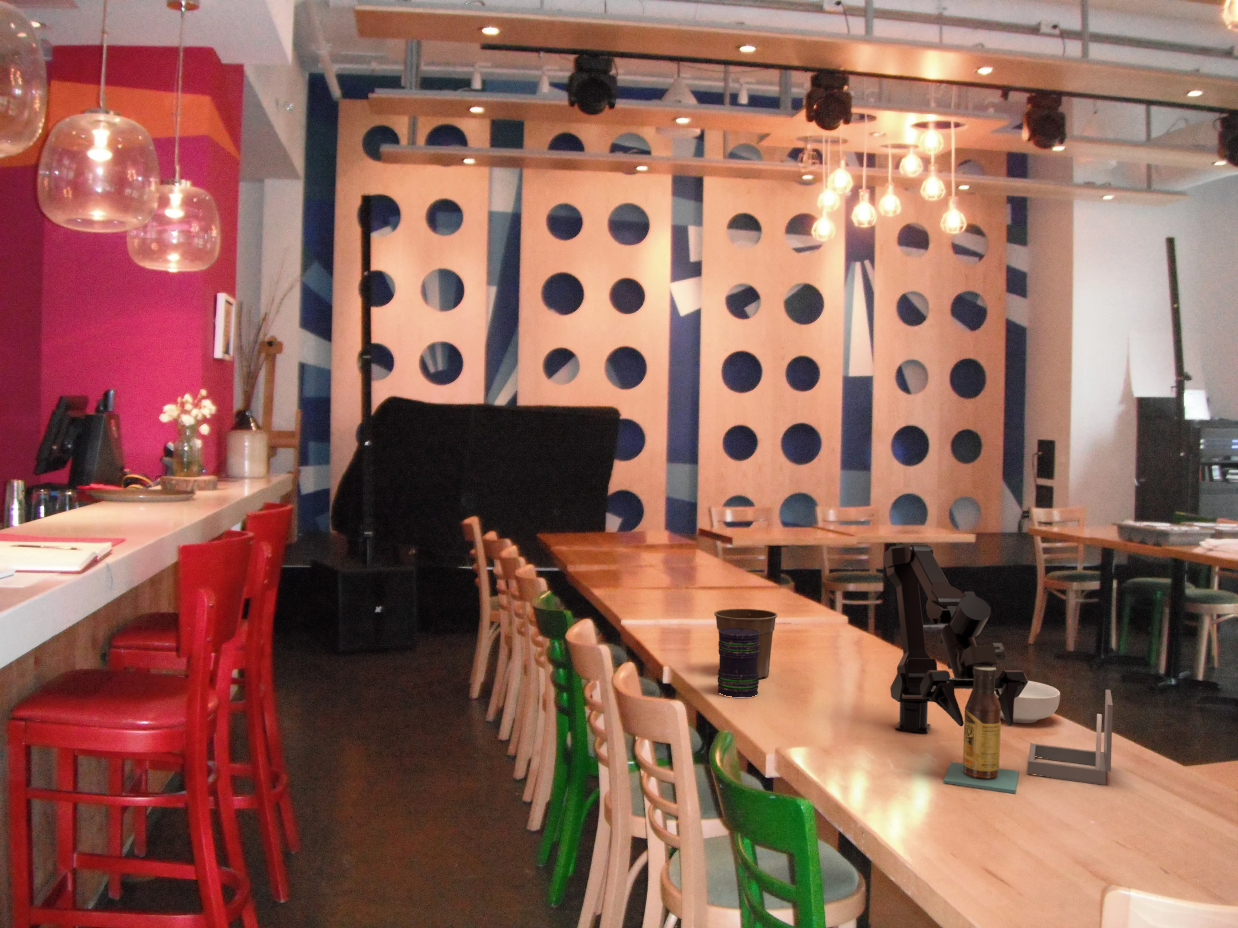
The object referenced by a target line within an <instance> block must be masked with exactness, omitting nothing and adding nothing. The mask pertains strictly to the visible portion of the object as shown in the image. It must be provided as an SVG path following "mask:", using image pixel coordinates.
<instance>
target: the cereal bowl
mask: <svg viewBox="0 0 1238 928" xmlns="http://www.w3.org/2000/svg"><path fill="white" fill-rule="evenodd" d="M994 693H995V695H996V692H994ZM996 697H997V698H998V697H999V696H998V695H996ZM1060 700H1061V692H1060V691H1059V689H1057V688H1056V687H1054V686H1051V685H1049V684H1045V683H1042V682H1037V681H1033V680H1028V683H1027V685H1026V686H1025V688H1024V689H1023V691H1022V692H1021V694H1020V695H1019V697H1016V698H1015V699H1014V715H1013V723H1017V724H1018V723H1019V724H1034V723H1036V722H1037V721H1038V720H1042V719H1047V718H1048V717H1051V716H1052V715H1053V714H1054V713H1055V712H1056V711H1057V709H1058V708H1059V705H1060ZM1001 719H1002V720H1003V721H1006V720H1005V718H1004V715H1003V713H1002V711H1001V715H1000V720H1001Z"/></svg>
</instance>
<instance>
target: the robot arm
mask: <svg viewBox="0 0 1238 928" xmlns="http://www.w3.org/2000/svg"><path fill="white" fill-rule="evenodd" d="M883 565H884V567H885V570H886V576H887V578H888V579H889V581H890V582H891V583H892V585H893V586H894V587H895V589H896V598H897V606H898V616H899V624H900V625H899V626H900V633H901V634H900V635H901V643H902V657H901V658H900V659H899V662H898V665H897V667H896V672H897V673H896V676H895V677H894V679H893V681H892V683H891V685H890V697H891V698H892V699H894V700H895V701H896V702H897V703H899V716H898V717H899V721H898V722H897V724H896V726H895V730H896V731H904V732H911V733H919V734H928V733H929V731H930V728H932V727H931V726H932V725H931V724H930V723H928V709H929V708H928V706H929V705H928V704H929V702H930V703H935V704H936V705H938V706H939V707H940V708H941V709H942V710H943V711H945V713H947V714H948V716H949V717H950V718H951V719H953V721H954V722H955V723H956V724H957V725H958V726H959V727H963V726H964V719H963V718H964V717H963V713H962V711H961V709H960V706H959V702H958V700H957V697H956V695H955V694H956V693H955V689H957V690H959V689H962V690H963V689H965V690H972V689H973V678H974V675H973V666H975V665H989V666H994V665H998V664H999V663H1001V662H1003V661H1005V660H1006V658H1007V656H1006V655H1007V654H1006V650H1005V647H1004V645H1003V643H1002V642H993V643H991V644H989V645H977V643H976V640H975V637H977V636H979V635H980V633H981V632H982V630H983V628H984V626H985V625H986V623H987V622H988V619H989V618H990V616H991V613H992V610H991V609H992V608H991V606H990V605H989V604H988V603H987V602H986V601H985V600H984V599H983V598H981V597H978V596H976V593H975V592H974V591H964V592H962V590H960V589H958V588H956V587H955V586H952V585H951V584H950V583H949V580H948V579H947V578H946V575H945V574H944V572H943V570H942V569H941V566H940V565H939V563H938V561H937V559H936V557H935V556H934V549H933V546H931V545H928V544H926V543H924V544H917V543H916V544H914V543H913V544H911V543H910V544H908V545H905V546H889V548H888V550H887V551H885V552H884V553H883ZM920 584H921V587H922V589H923V591H924V592H925V594H926V597H927V603H926V605H925V609H926V615H927V618H928V619H929V620H930V622H931V623H932V624H933V625H943V627H942V629H941V632H940V637H939V640H938V642H939V644H940V645H943V647H944V649H945V651H946V652H945V653H946V656H947V658H948V662H947V663H946V665H947V668H948V670H951V671H952V674H953V677H951V675H950V672H949V671H948V670H947V669H943V670H942V669H938V662H937V661H936V658H935V657H934V658H933V657H931V656H930V655H929V653H928V652H927V647H926V637H925V628H924V621H923V611H922V603H921V595H920ZM1028 681H1029V680H1028V677H1027V675H1026V673H1025V672H1024V671H1023V670H1020V669H1019V670H1018V669H1016V670H1015V669H1013V670H1012V669H1010V670H1006V669H1002V671H1001V673H1000V674H999V676H998V677H996V678H995V692H996V695H998V696H999V697H998V699H999V702H1000V705H1001V711H1002V713H1003V715H1004V718H1005V720H1004V721H1005V722H1006V723H1007V725H1008V727H1011V726H1013V724H1014V722H1013V715H1014V699H1015V698H1016V697H1019V695H1020V694H1021V692H1022V691H1023V689H1024V688H1025V686H1026V685H1027V683H1028Z"/></svg>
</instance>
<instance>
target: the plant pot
mask: <svg viewBox="0 0 1238 928" xmlns="http://www.w3.org/2000/svg"><path fill="white" fill-rule="evenodd" d="M714 617H715V620H716V629H717V630H718V631H717V632H718V633H719V630H720V629H725V628H747V629H753V630H757V631H759V643H760V648H759V656H758V672H759V676H758V678H761V679H763V678H762V677H765V678H767V677H769V674H770V667H771V666H770V665H771V655H772V654H771V652H772V646H773V645H772V643H773V634H774V631H775V624H776V618H778V614H777V612H774V611H772V610H771V611H770V610H765V609H756V608H755V609H754V608H729V609H720V610H716V611H714ZM719 636H720V635H719V634H718V637H719ZM766 676H767V677H766Z"/></svg>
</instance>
